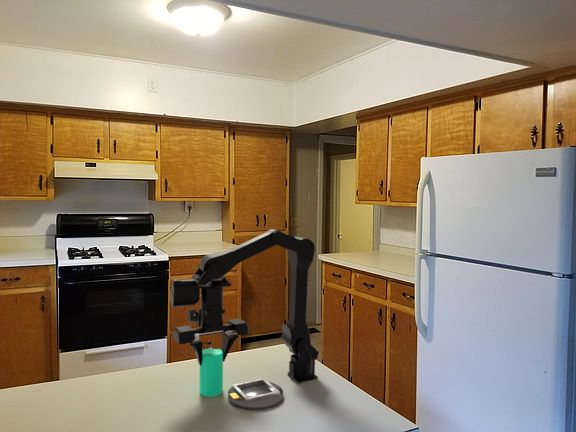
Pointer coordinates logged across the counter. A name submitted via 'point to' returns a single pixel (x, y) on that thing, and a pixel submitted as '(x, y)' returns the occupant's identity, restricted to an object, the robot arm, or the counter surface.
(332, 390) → the counter surface
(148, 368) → the counter surface
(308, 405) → the counter surface
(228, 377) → the counter surface
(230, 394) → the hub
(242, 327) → the robot arm
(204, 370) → the candle
